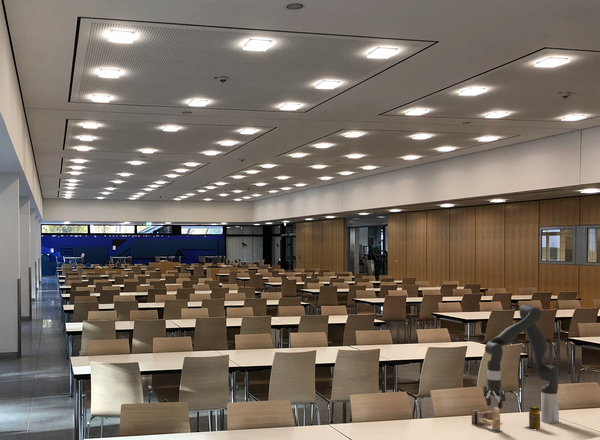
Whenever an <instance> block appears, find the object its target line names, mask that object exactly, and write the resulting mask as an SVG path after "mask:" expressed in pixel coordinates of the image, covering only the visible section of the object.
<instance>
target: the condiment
mask: <svg viewBox="0 0 600 440" xmlns="http://www.w3.org/2000/svg"><path fill="white" fill-rule="evenodd" d="M528 422H529V423H528V426H524V427H523V428H525V429H527V430H531V431H538V430H539V431H540V430H544V428H543V427H541V409H540V407H539V406H535V405H533V406H532V405H531V406H530V405H529V411H528ZM540 428H541V429H540ZM534 429H536V430H534Z"/></svg>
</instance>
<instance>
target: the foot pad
mask: <svg viewBox="0 0 600 440" xmlns="http://www.w3.org/2000/svg"><path fill="white" fill-rule="evenodd" d="M487 431H488V432H492V433H494V434H496V433H502V431H503V430H501V429H500V430H493V429H492V428H489V429H487Z"/></svg>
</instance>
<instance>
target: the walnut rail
mask: <svg viewBox="0 0 600 440" xmlns="http://www.w3.org/2000/svg"><path fill="white" fill-rule="evenodd" d="M477 412H482V418H485V419H488V420H492V410H487V411H481V410H480V409H472V410H471V425H473V426H479V425H478V421H477ZM482 424H485V423H482Z"/></svg>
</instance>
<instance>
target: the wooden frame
mask: <svg viewBox="0 0 600 440" xmlns="http://www.w3.org/2000/svg"><path fill="white" fill-rule="evenodd" d="M491 409H492V410H491V411H492V420H488V419H485V418H482V412H483V411H480V412H477V421H478V425H477V426H482V423H484V424H486V425H490V426H492V428H491V429H493V430H501V409H498V406H494V407H492V408H491Z"/></svg>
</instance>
